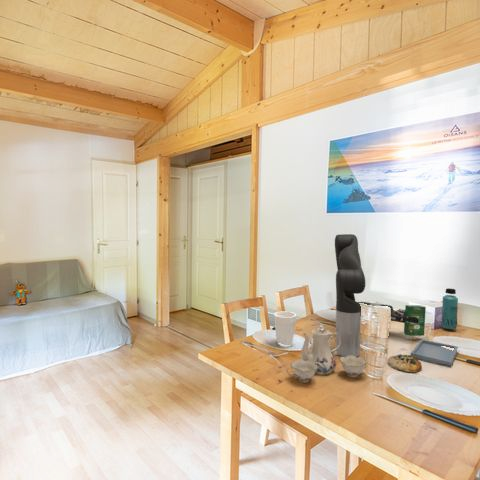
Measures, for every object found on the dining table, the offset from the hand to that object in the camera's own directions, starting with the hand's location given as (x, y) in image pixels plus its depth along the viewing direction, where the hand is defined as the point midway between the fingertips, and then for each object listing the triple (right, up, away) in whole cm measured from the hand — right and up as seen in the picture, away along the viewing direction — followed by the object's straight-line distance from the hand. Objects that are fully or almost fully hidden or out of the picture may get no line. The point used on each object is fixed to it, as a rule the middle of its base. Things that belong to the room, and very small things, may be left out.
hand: (420, 318), depth 143 cm
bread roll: (-19, -12, -24) cm, 33 cm away
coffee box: (-2, -8, +2) cm, 8 cm away
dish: (-2, -11, -14) cm, 18 cm away
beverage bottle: (+22, -9, +15) cm, 28 cm away
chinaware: (-49, -12, -29) cm, 59 cm away
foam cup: (-59, -10, -3) cm, 60 cm away
